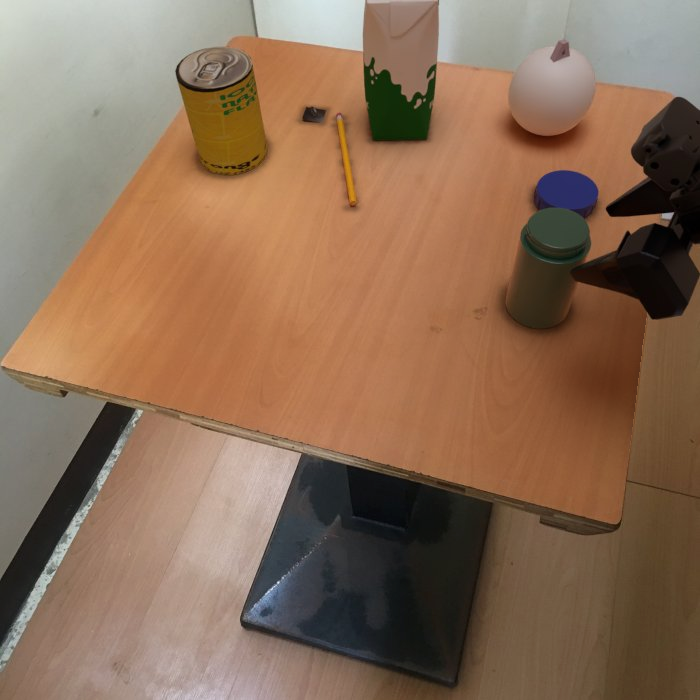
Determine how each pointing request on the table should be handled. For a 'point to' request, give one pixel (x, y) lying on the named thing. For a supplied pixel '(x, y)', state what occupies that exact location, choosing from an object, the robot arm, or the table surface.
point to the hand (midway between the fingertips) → (591, 242)
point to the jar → (547, 267)
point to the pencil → (346, 160)
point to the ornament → (552, 90)
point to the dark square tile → (314, 114)
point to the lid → (566, 192)
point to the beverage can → (223, 109)
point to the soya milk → (400, 66)
